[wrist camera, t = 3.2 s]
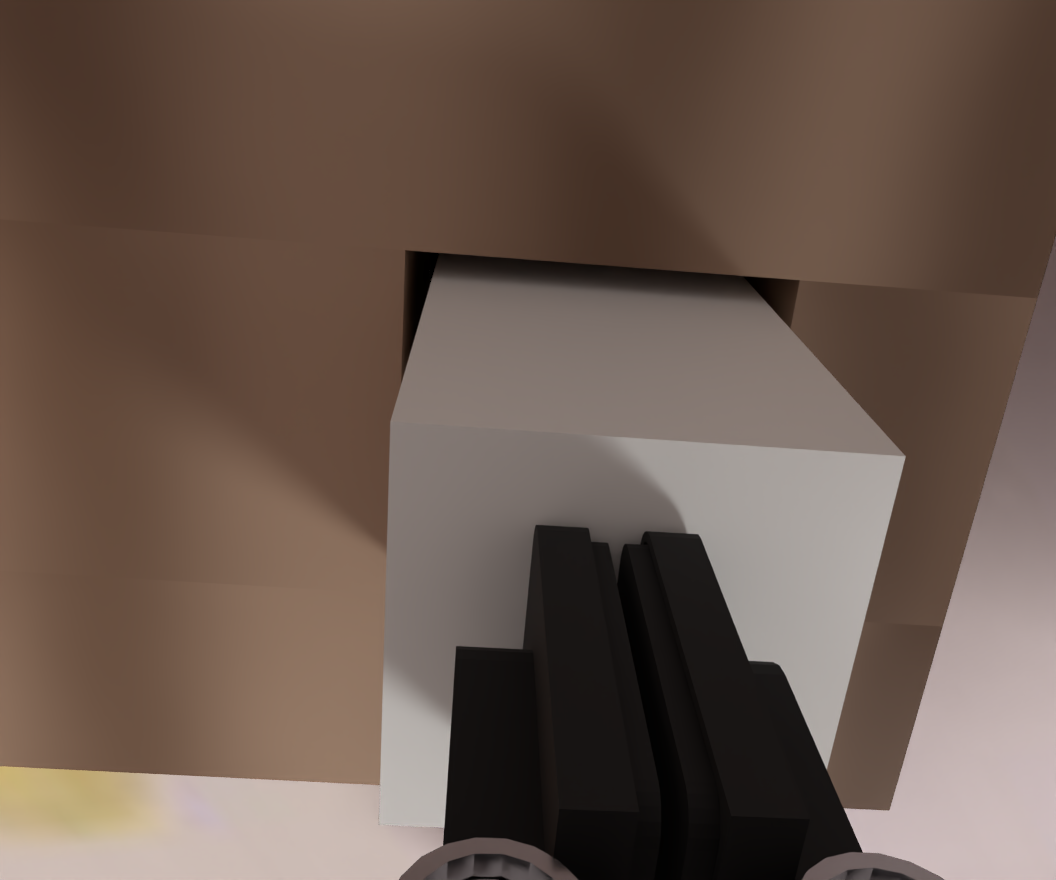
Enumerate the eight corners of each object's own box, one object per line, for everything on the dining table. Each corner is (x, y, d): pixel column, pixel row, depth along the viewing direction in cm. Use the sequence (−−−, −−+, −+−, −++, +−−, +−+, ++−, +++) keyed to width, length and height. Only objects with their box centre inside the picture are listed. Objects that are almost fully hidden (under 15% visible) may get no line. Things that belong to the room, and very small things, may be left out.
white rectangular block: (740, 273, 17) (905, 456, 10) (695, 536, 18) (807, 845, 12) (439, 250, 16) (389, 421, 9) (427, 519, 18) (378, 825, 11)
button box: (942, 3, 19) (1124, -2, 13) (802, 629, 24) (889, 810, 19) (-621, -138, 17) (-1149, -210, 12) (-395, 558, 23) (-683, 731, 17)
